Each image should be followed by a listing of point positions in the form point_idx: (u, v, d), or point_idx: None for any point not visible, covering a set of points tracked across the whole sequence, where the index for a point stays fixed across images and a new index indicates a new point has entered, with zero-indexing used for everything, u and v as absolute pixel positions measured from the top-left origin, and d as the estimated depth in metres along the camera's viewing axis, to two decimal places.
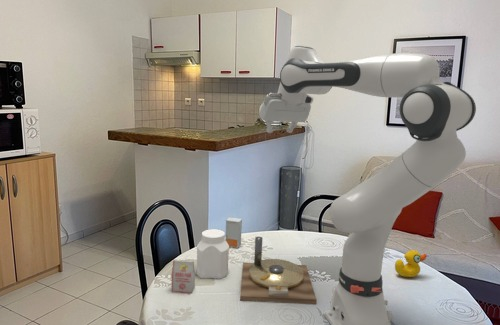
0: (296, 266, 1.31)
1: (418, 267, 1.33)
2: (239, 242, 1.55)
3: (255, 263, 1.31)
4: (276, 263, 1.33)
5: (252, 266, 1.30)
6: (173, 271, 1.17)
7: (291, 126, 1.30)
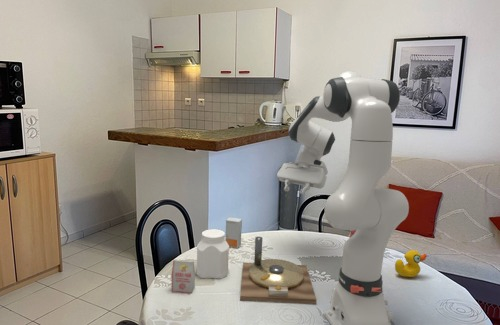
0: (296, 266, 1.31)
1: (418, 267, 1.33)
2: (239, 242, 1.55)
3: (255, 263, 1.31)
4: (276, 263, 1.33)
5: (252, 266, 1.30)
6: (173, 271, 1.17)
7: None
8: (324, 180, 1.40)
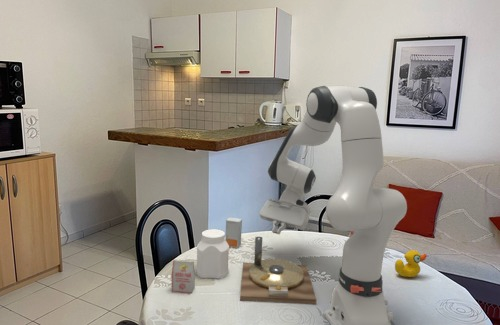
0: (296, 266, 1.31)
1: (418, 267, 1.33)
2: (239, 242, 1.55)
3: (255, 263, 1.31)
4: (276, 263, 1.33)
5: (252, 266, 1.30)
6: (173, 271, 1.17)
7: None
8: (306, 221, 1.37)
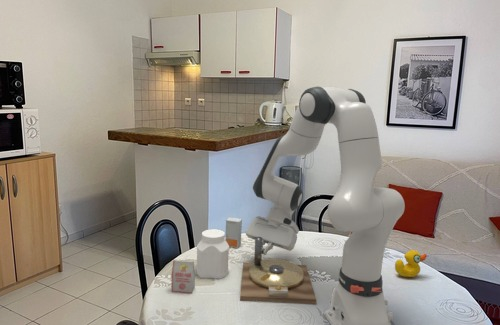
0: (296, 266, 1.31)
1: (418, 267, 1.33)
2: (239, 242, 1.55)
3: (255, 263, 1.31)
4: (276, 263, 1.33)
5: (252, 266, 1.29)
6: (173, 271, 1.17)
7: None
8: (294, 241, 1.30)
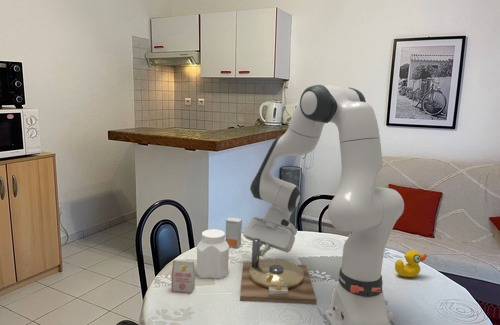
0: (292, 264, 1.33)
1: (418, 267, 1.33)
2: (239, 242, 1.55)
3: (253, 265, 1.29)
4: (272, 263, 1.33)
5: (251, 269, 1.27)
6: (173, 271, 1.17)
7: None
8: (291, 243, 1.29)
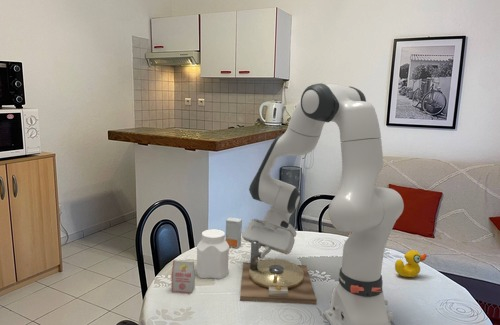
0: (287, 262, 1.34)
1: (418, 267, 1.33)
2: (239, 242, 1.55)
3: (253, 268, 1.27)
4: (268, 263, 1.32)
5: (251, 272, 1.25)
6: (173, 271, 1.17)
7: None
8: (291, 245, 1.27)
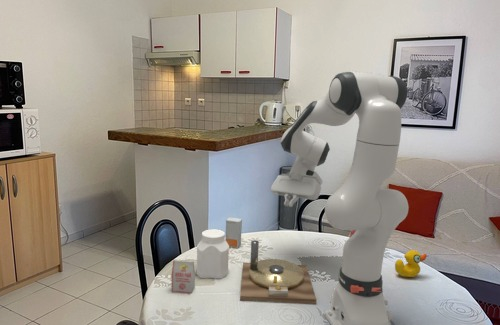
0: (287, 262, 1.34)
1: (418, 267, 1.33)
2: (239, 242, 1.55)
3: (253, 268, 1.27)
4: (268, 263, 1.32)
5: (251, 272, 1.25)
6: (173, 271, 1.17)
7: None
8: (318, 191, 1.34)
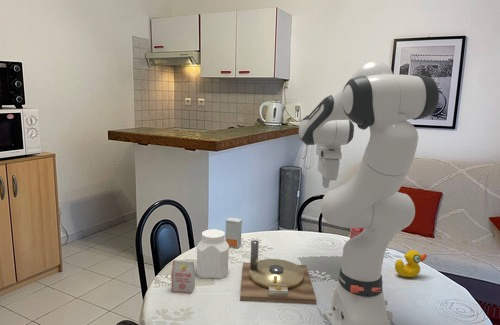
0: (287, 262, 1.34)
1: (418, 267, 1.33)
2: (239, 242, 1.55)
3: (253, 268, 1.27)
4: (268, 263, 1.32)
5: (251, 272, 1.25)
6: (173, 271, 1.17)
7: None
8: (333, 171, 1.26)
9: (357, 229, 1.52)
